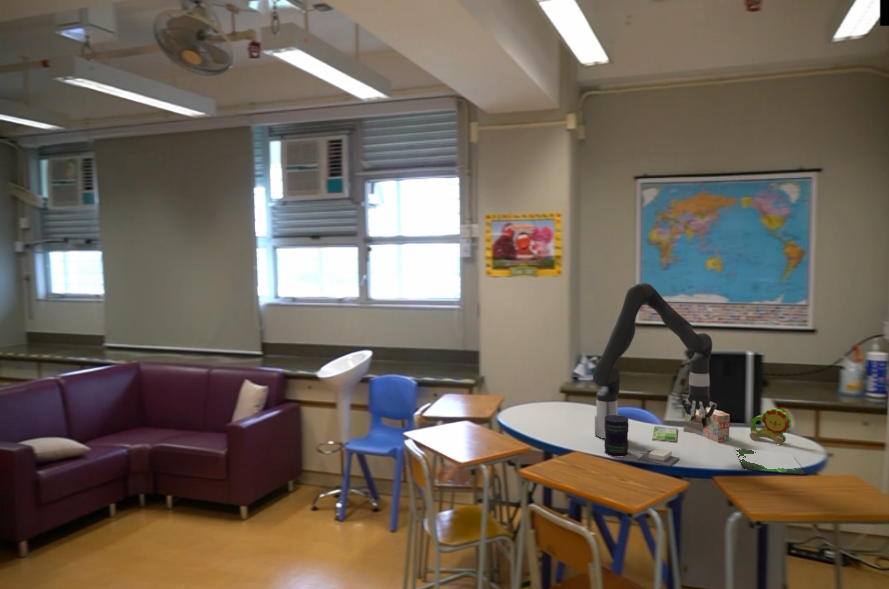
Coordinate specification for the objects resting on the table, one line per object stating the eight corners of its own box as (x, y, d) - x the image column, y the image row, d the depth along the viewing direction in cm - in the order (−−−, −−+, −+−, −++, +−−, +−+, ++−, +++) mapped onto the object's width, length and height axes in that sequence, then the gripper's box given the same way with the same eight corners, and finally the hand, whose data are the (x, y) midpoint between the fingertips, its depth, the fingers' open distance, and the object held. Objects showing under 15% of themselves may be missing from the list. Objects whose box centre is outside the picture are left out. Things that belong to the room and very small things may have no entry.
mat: (637, 460, 248) (637, 458, 248) (648, 452, 256) (648, 451, 256) (669, 466, 240) (669, 465, 239) (679, 459, 248) (679, 457, 248)
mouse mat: (733, 448, 260) (733, 446, 260) (791, 452, 253) (791, 450, 253) (743, 471, 234) (743, 468, 234) (807, 476, 227) (807, 474, 227)
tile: (657, 452, 255) (649, 458, 248) (657, 447, 255) (649, 453, 248) (671, 455, 251) (663, 461, 244) (671, 450, 251) (663, 456, 244)
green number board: (652, 441, 272) (676, 443, 269) (652, 438, 272) (676, 440, 269) (654, 428, 291) (677, 430, 287) (654, 425, 291) (677, 427, 287)
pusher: (698, 421, 254) (698, 412, 253) (715, 424, 249) (715, 415, 249) (683, 431, 241) (683, 421, 240) (701, 434, 236) (701, 424, 236)
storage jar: (604, 448, 263) (603, 414, 262) (627, 449, 261) (627, 415, 260) (604, 456, 253) (604, 421, 252) (629, 457, 251) (629, 422, 250)
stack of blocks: (684, 429, 287) (684, 404, 286) (695, 428, 289) (695, 402, 288) (718, 443, 267) (718, 415, 266) (729, 441, 269) (730, 413, 268)
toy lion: (748, 439, 270) (749, 406, 269) (753, 436, 274) (753, 403, 273) (788, 447, 259) (788, 412, 258) (792, 444, 263) (792, 409, 262)
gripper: (678, 383, 244) (677, 425, 245) (714, 387, 235) (714, 431, 236) (684, 379, 250) (684, 420, 251) (720, 384, 241) (720, 426, 242)
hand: (698, 425), depth 244 cm, fingers closed on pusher, 3 cm apart
